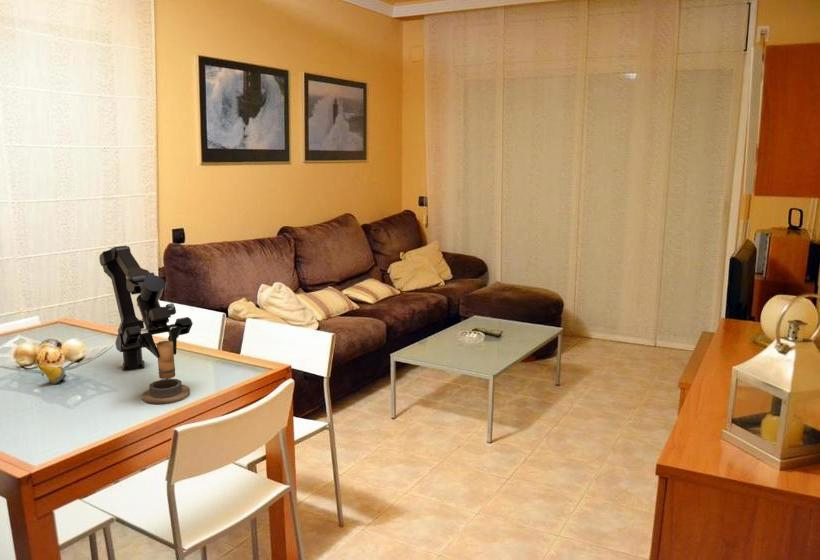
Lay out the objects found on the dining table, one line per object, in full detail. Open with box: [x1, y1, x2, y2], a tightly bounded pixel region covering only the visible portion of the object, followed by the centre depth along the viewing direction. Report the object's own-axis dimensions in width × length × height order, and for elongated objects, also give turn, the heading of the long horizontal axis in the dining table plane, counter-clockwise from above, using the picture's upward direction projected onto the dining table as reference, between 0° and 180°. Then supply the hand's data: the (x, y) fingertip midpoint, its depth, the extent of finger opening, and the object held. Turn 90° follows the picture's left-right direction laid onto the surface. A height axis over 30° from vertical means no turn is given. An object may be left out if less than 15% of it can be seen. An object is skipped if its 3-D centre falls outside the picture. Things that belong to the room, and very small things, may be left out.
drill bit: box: [37, 364, 68, 385], centre depth 206 cm, size 5×5×10 cm
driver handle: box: [156, 340, 176, 380], centre depth 195 cm, size 4×4×10 cm
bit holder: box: [141, 378, 191, 405], centre depth 197 cm, size 13×13×4 cm
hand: (167, 355), depth 194 cm, fingers closed on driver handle, 4 cm apart
